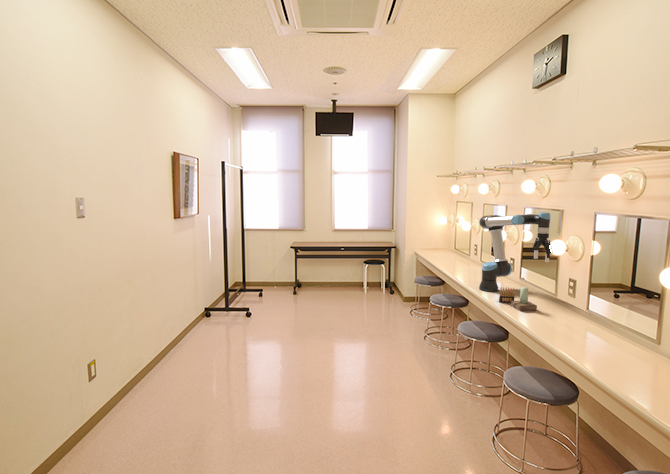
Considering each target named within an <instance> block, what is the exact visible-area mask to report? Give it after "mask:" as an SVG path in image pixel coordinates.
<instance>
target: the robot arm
mask: <svg viewBox="0 0 670 474" xmlns="http://www.w3.org/2000/svg"><path fill="white" fill-rule="evenodd" d="M550 223H551V213H550V212H539V213H538V214H532V213H527V214H515V215H504V216H502V215H500V214H499V215H497V214H494V215H492V214H491V215H483V216H481V218H480V219H479V222H478V224H479V226H480V227H481V228H482V229H485V230H486V229H487V230H488V232H489V233H490V235H491V242H492V249H493V256H494V260H493V261H487V262H484V263H483V264H482V267H481V281H480V283H479V287H478V289H479V290H480V291H481V292H482V291H483V292H488V293H495V292H496V293H497V292H498V291H499V286H498V283H497V278H500V277H508V276H510V274H512V272H513V266H512V264H511V263H510V262H509V260H508V259H506V252H505V247H504V242H503V241H504V240H503V234H502V231H503V229H504V227H505V226H515V225H516V226H520V225H521V226H522V225H537V237H536V238H535V240H534V244H533V245H532V250H533V259H534V260H536V259H539V249H540V247H541V246H542V247H543V248H544V252H545V259H544V262H545V263H550V257H551V254H552V253H551V252H550V249H549V245H551V240H550V239H549V237H550V226H551V225H550ZM548 239H549V240H548Z"/></svg>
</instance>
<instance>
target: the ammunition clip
mask: <svg viewBox="0 0 670 474" xmlns="http://www.w3.org/2000/svg"><path fill="white" fill-rule="evenodd" d="M511 301H515V287H508V288H507V287H503V288H502V286H501V287H500V289H499V298H498V303H500V304H511Z"/></svg>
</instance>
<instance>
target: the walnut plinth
mask: <svg viewBox="0 0 670 474" xmlns="http://www.w3.org/2000/svg"><path fill="white" fill-rule="evenodd" d="M510 307H512V308H514V309H515V310H517V311H519V312H537V311H538V310H537V309H538V305H537V304H535V303H533V302H531V301H529V300H528V304H522V303H520V300H514V301H511V303H510Z"/></svg>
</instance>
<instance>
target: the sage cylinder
mask: <svg viewBox="0 0 670 474" xmlns="http://www.w3.org/2000/svg"><path fill="white" fill-rule="evenodd" d="M519 301H520V303H522V304H528V301H529V287H524V286H523V287H522V286H521V287H520V295H519Z"/></svg>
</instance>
